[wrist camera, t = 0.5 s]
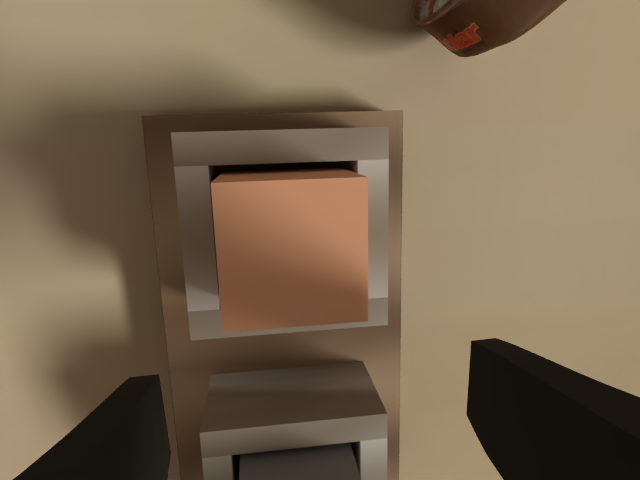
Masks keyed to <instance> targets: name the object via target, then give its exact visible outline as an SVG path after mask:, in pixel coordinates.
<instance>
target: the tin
mask: <svg viewBox="0 0 640 480" xmlns="http://www.w3.org/2000/svg"><path fill="white" fill-rule="evenodd" d="M565 1H566V0H415V2H414V4H413V8H412V12H411V20H412V22H413V23H414V24H415V25H418V26H422V27H423V28H424V29H425V30H427V31H428V32H429V33H430V34H431V35H432V36H434V37H435V38H436V39H437V40H438V41H439V42H440V43H441V44H443V45H444V46H445V47H446V48H447V49H448V50H450V51H451V52H453V53H454V54H456V55H458V56H460V57H470V56H475V55H478V54H481V53H483V52H486V51H488V50H491V49H493V48H496V47H498V46H501V45H504V44H507V43H509V42H511V41H513V40H515V39H517V38H518V37H520V36H522V35H523V34H525V33H526V32H527V31H529V30H530V29H532V28H533V27H534V26H536V25H537V24H538V23H540V22H541V21H542V20H543V19H545V18H546V17H547V16H548V15H550V14H551V13H552V12H553V11H554V10H556V9H557V8H558V7H559V6H560V5H561V4H563V3H564V2H565Z"/></svg>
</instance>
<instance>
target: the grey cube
mask: <svg viewBox="0 0 640 480" xmlns="http://www.w3.org/2000/svg"><path fill="white" fill-rule="evenodd" d="M239 480H361V477H360V474H359V471H358V467H357V464H356V461H355V457H354V454H353V451H352V447H351V444H350V442H348V443H339V444H329V445H320V446H311V447H302V448H293V449H284V450H274V451H265V452H256V453H247V454H241V455H240V472H239Z"/></svg>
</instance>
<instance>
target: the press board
mask: <svg viewBox="0 0 640 480" xmlns="http://www.w3.org/2000/svg"><path fill="white" fill-rule="evenodd" d="M142 122H143V132H144V141H145V150H146V159H147V169H148V178H149V187H150V196H151V206H152V215H153V224H154V234H155V243H156V252H157V261H158V271H159V280H160V289H161V298H162V308H163V317H164V326H165V335H166V345H167V354H168V363H169V372H170V382H171V391H172V400H173V410H174V419H175V428H176V437H177V447H178V456H179V465H180V474H181V480H239V472H240V455H241V454H247V453H256V452H265V451H274V450H284V449H293V448H302V447H311V446H320V445H329V444H339V443H348V442H350V444H351V447H352V451H353V454H354V457H355V461H356V464H357V467H358V471H359V474H360V477H361V480H399V429H400V338H401V248H402V158H403V110H396V111H350V112H303V113H257V114H210V115H164V116H142ZM320 168H343V169H346V170H349V171H352V172H355V173H358V174H361V175H364V176H367V177H368V321H365V322H352V323H339V324H327V325H314V326H301V327H288V328H275V329H262V330H249V331H236V332H223V333H222V320H221V307H220V295H219V282H218V270H217V257H216V244H215V232H214V219H213V206H212V194H211V182H212V181H213V180H215V179H216V178H217V177H218V176H219V175H220V174H221V173H222V172H238V171H265V170H293V169H320Z"/></svg>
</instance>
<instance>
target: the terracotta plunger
mask: <svg viewBox="0 0 640 480" xmlns="http://www.w3.org/2000/svg"><path fill="white" fill-rule="evenodd" d="M211 194H212V206H213V219H214V232H215V244H216V257H217V270H218V282H219V295H220V307H221V320H222V333H223V332H236V331H249V330H262V329H275V328H288V327H301V326H314V325H327V324H339V323H352V322H365V321H368V177H367V176H364V175H361V174H358V173H355V172H352V171H349V170H346V169H343V168H320V169H293V170H265V171H238V172H222V173H221V174H220V175H219V176H218V177H217V178H216V179H215V180H213V181H212V182H211Z"/></svg>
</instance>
